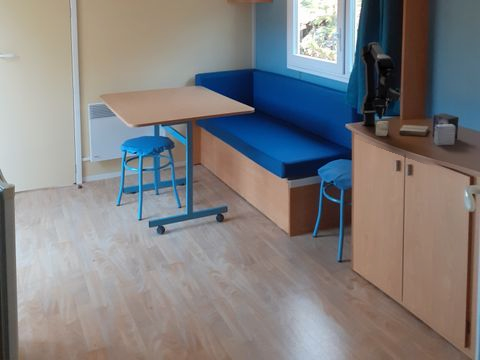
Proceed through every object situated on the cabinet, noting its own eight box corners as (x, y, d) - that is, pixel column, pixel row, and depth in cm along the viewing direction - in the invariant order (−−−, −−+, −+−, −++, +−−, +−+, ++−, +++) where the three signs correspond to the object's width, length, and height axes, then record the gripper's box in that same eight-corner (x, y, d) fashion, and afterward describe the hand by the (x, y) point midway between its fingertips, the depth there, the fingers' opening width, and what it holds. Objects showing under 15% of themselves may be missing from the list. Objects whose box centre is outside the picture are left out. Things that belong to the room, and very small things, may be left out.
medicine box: (450, 142, 286) (452, 123, 283) (454, 144, 282) (455, 126, 279) (433, 143, 286) (434, 124, 283) (437, 145, 281) (438, 126, 279)
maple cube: (377, 133, 308) (378, 121, 306) (387, 133, 306) (388, 121, 304) (375, 135, 303) (375, 123, 302) (386, 136, 302) (386, 123, 300)
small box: (431, 136, 298) (432, 114, 295) (442, 134, 300) (443, 112, 297) (446, 141, 289) (448, 118, 285) (457, 139, 291) (459, 116, 288)
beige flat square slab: (403, 128, 314) (403, 124, 313) (428, 130, 309) (428, 126, 309) (399, 134, 303) (399, 130, 303) (424, 135, 299) (425, 131, 298)
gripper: (397, 88, 286) (395, 122, 291) (404, 81, 302) (402, 113, 307) (372, 87, 290) (371, 120, 295) (380, 81, 307) (379, 112, 311)
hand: (382, 116), depth 302 cm, fingers open, 9 cm apart
